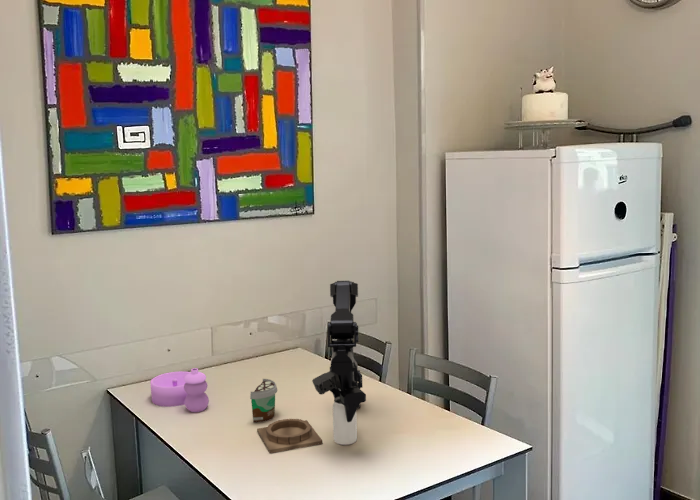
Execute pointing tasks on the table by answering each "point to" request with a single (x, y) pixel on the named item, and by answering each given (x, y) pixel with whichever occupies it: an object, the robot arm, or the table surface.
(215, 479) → the table surface
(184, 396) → the container set
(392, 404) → the table surface
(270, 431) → the brown ring stand base
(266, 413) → the food container
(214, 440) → the table surface
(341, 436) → the can
